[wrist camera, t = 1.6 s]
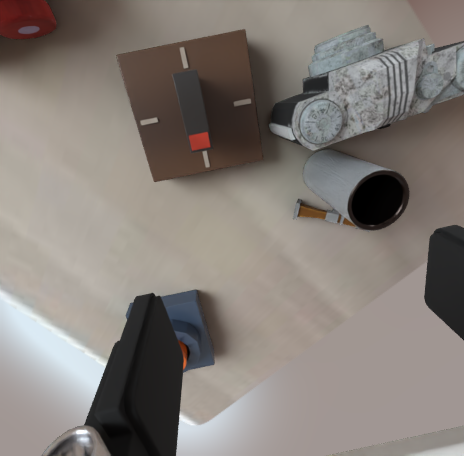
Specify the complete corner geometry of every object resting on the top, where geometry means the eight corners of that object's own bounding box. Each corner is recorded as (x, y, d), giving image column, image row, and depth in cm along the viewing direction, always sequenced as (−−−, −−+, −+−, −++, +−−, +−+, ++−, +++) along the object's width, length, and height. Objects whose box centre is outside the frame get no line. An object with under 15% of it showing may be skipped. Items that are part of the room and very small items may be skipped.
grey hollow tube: (301, 194, 31) (345, 234, 21) (302, 150, 29) (350, 173, 19) (343, 190, 31) (404, 227, 21) (347, 146, 29) (415, 166, 19)
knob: (178, 80, 23) (171, 73, 18) (198, 76, 23) (196, 68, 18) (193, 144, 25) (190, 154, 20) (211, 140, 25) (213, 149, 20)
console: (125, 60, 24) (114, 54, 22) (240, 37, 25) (245, 28, 22) (158, 174, 28) (153, 182, 26) (257, 154, 29) (264, 160, 26)
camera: (416, 10, 25) (539, -46, 16) (420, 92, 28) (528, 86, 18) (253, 70, 26) (281, 51, 16) (273, 145, 28) (306, 164, 19)
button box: (130, 303, 34) (121, 326, 30) (196, 289, 34) (195, 311, 30) (154, 363, 38) (149, 390, 34) (214, 350, 38) (215, 377, 34)
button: (151, 342, 32) (148, 354, 30) (182, 335, 32) (181, 347, 30) (160, 365, 33) (158, 378, 32) (190, 358, 33) (190, 371, 32)
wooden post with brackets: (370, 224, 32) (375, 239, 28) (297, 208, 34) (292, 220, 30) (375, 208, 31) (381, 221, 27) (301, 193, 33) (296, 203, 29)
